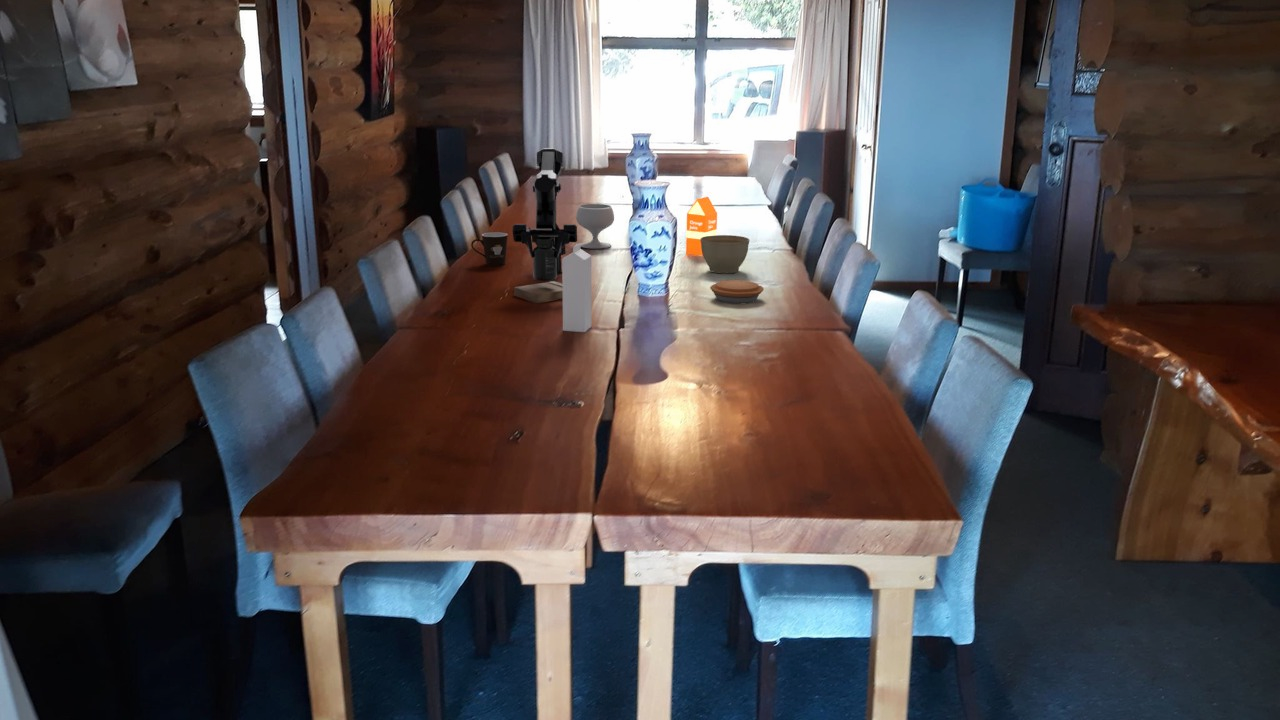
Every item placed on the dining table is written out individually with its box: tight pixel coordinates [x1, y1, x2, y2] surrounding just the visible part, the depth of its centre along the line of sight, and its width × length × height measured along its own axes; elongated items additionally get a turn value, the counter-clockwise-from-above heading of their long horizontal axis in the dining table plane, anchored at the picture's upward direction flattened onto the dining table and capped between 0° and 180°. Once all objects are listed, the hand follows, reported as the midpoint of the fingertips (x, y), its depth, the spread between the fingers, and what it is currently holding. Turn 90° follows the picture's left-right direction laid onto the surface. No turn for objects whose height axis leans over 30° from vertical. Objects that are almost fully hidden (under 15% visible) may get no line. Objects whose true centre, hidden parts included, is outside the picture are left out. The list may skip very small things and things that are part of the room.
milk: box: [561, 242, 592, 333], centre depth 262 cm, size 6×6×22 cm
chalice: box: [575, 203, 615, 250], centre depth 377 cm, size 14×14×15 cm
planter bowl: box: [700, 234, 750, 275], centre depth 337 cm, size 16×16×11 cm
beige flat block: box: [513, 280, 563, 304], centre depth 300 cm, size 14×12×3 cm
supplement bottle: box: [532, 237, 558, 282], centre depth 297 cm, size 7×7×12 cm
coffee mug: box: [470, 232, 509, 267], centre depth 344 cm, size 12×9×10 cm
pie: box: [709, 279, 765, 305], centre depth 299 cm, size 15×16×5 cm
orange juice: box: [685, 196, 718, 257], centre depth 365 cm, size 8×9×20 cm
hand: (544, 257), depth 296 cm, fingers closed on supplement bottle, 7 cm apart
